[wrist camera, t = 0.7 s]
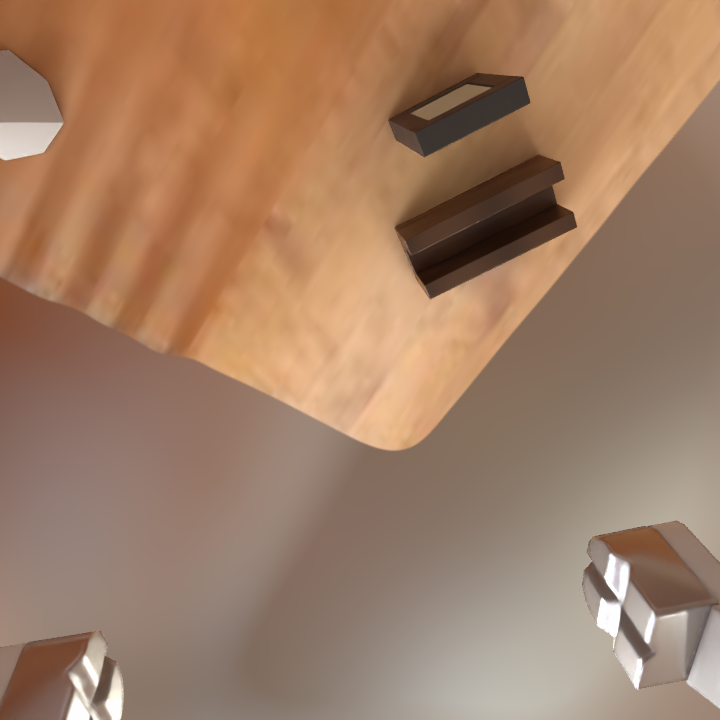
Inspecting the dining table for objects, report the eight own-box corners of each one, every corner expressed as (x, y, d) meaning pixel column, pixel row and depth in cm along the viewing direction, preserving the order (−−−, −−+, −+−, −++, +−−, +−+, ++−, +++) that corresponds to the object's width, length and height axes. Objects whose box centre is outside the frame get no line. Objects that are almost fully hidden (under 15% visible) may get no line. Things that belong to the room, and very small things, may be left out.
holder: (418, 283, 53) (430, 299, 50) (394, 227, 50) (404, 240, 47) (556, 215, 52) (577, 227, 49) (539, 154, 49) (560, 161, 46)
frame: (396, 140, 47) (424, 157, 39) (387, 119, 46) (414, 132, 38) (484, 95, 46) (530, 103, 38) (477, 72, 45) (523, 76, 38)
